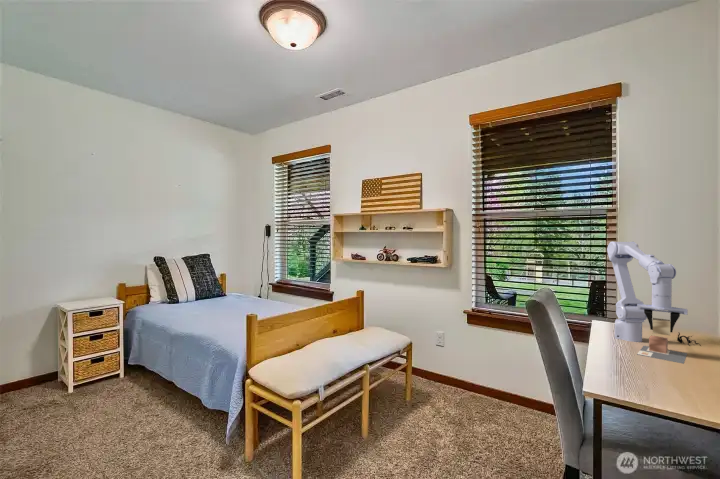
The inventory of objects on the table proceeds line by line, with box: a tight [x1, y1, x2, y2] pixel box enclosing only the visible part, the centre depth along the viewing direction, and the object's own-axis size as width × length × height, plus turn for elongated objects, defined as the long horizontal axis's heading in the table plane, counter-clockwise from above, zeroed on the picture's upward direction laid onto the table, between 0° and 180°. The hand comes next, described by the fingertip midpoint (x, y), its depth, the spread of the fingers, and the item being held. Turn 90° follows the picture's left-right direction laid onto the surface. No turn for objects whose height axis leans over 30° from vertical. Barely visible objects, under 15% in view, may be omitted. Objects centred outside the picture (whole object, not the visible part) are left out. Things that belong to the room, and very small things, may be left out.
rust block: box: [648, 334, 669, 354], centre depth 135 cm, size 5×5×5 cm
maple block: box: [652, 317, 671, 337], centre depth 133 cm, size 5×5×5 cm
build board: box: [636, 345, 688, 365], centre depth 131 cm, size 13×16×1 cm
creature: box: [676, 332, 702, 347], centre depth 144 cm, size 8×5×8 cm
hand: (661, 330), depth 133 cm, fingers closed on maple block, 5 cm apart
